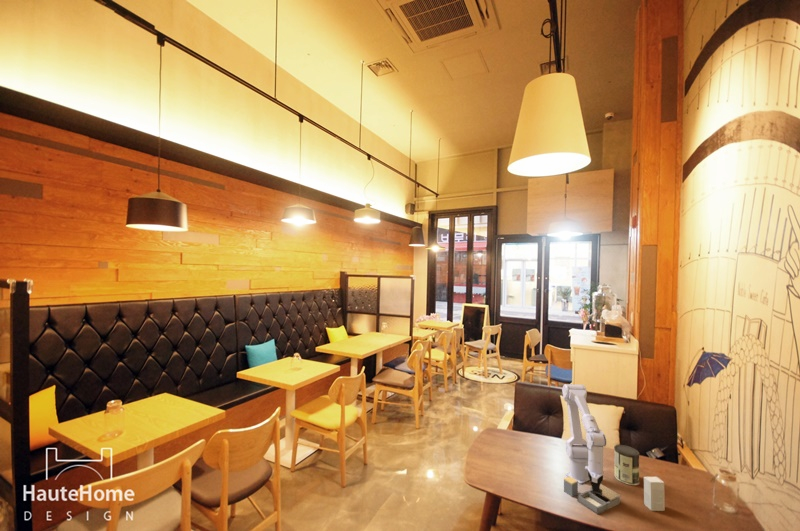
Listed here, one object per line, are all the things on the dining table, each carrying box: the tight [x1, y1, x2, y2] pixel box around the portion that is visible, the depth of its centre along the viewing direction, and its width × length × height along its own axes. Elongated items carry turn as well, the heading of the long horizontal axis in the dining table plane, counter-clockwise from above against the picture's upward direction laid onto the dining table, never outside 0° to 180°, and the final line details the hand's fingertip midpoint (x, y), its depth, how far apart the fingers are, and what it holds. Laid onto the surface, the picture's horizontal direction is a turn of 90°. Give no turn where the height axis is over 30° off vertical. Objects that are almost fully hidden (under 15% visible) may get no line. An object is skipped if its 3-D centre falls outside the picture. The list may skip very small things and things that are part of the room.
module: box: [563, 476, 579, 498], centre depth 151 cm, size 4×4×6 cm
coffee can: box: [613, 444, 640, 486], centre depth 163 cm, size 10×10×14 cm
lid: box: [589, 483, 621, 501], centre depth 147 cm, size 7×9×2 cm
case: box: [577, 489, 621, 515], centre depth 145 cm, size 16×9×3 cm, turn 117°
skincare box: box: [643, 476, 666, 512], centre depth 142 cm, size 6×4×12 cm
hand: (595, 490), depth 146 cm, fingers closed
